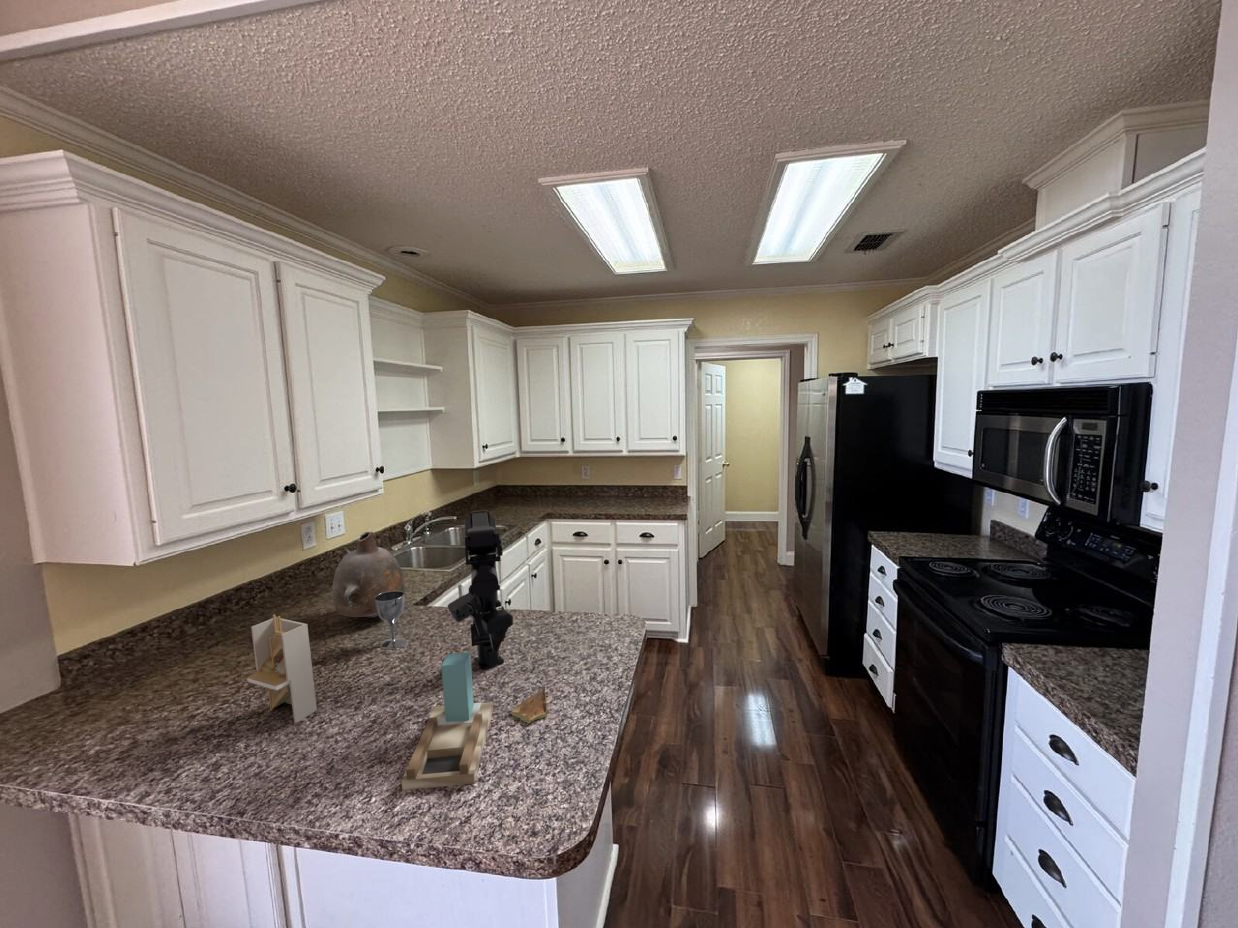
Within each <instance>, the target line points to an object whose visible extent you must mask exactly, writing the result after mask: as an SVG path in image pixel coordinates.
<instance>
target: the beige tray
mask: <svg viewBox="0 0 1238 928" xmlns="http://www.w3.org/2000/svg"><path fill="white" fill-rule="evenodd" d="M493 704H494V703H493V701H491V702H490V701H488V702H474V707H473V710H472V713H471V716H470V719H469V720H463V721H451V722H446V719H445V705H440V706H434V707H433V709H432V712H431V713H430V716H429V718H428V720H427V723H426V726H425V727H424V730H423V731H422V734H421V736H420V738H419V741H418V742H417V745H416V747H415V749H414V751H413V754H412V756H411V757H410V760H409V763H408V765H407V766H406V770H405V771H404V774H403V776H402V778H401V789H402V790H401V791H407V790H409V791H410V790H419V789H429V788H440V787H451V786H460V785H468V784H469V785H470V784H475V782H476V778H477V774H478V770H479V766H480V763H481V758H482V755H483V751H484V746H485V743H486V738H487V736H488V731H489V728H490V724H491V719H492V716H493V711H494V705H493Z"/></svg>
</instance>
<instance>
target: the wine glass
mask: <svg viewBox="0 0 1238 928" xmlns="http://www.w3.org/2000/svg"><path fill="white" fill-rule="evenodd" d="M375 607H376V611H377V614H378V616H377V617H378V618H380V619H381V620H382V621H384V622H385V623H387V625H388V626H389V630H390V636H391V638H389V639H387V640H384V641H383V642H382V643H381V644H380V648H381V649H382V650H394V649H398V648H401V647H403V646H404V645H405V644H406V643H407V639H406V638H404V637H395V625H396V622H397V621H398V620H399V618H400V617H401V615H402V614H403V612H404V609H405V597H404V592H402V591H398V590H395V591H387V592H383V593H380V594H378V595H377V596H375Z"/></svg>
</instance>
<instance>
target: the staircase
mask: <svg viewBox="0 0 1238 928" xmlns="http://www.w3.org/2000/svg"><path fill="white" fill-rule="evenodd" d="M250 629H251V638H252V644H253V652H254V660H255V669H256V672H255V673H254V674H251V675H249V676H247V677H246V681H247V682H248V683H251V684H255V685H258V686H261V687H264V688H267V689H268V690H267V692H268V699H269V700H268V701H269V709H270V712H271V711H273V710H274V709H275V708H276V707H278V706H280V705H282V704H284V703H286V704H290V705H291V707H292V714H293V715H292V716H293V723H294V724H297V723H299V722H301V721H302V720H304V719H305V718H307V717H308V716H310V715H311V714H313V713H315V712H317V710H318V707H317V701H316V698H317V697H316V690H315V682H314V673H313V672H314V671H313V665H312V656H311V654H312V653H311V645H310V638H309V636H310V635H309V629H308V623H304V622H300V621H294V620H289V619H285V618H281V615H278V616H276V614H272V617H271V618H270V619H268V620H265V621H263V622H260V623H257V624H255V625H252V626H250ZM276 668H277V669H278V671H277V669H276Z"/></svg>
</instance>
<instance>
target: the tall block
mask: <svg viewBox="0 0 1238 928" xmlns="http://www.w3.org/2000/svg"><path fill="white" fill-rule="evenodd" d="M472 673H473V672H472V659H471V652H470V651H468V652H455V653H447V654H446V655H445V658H444V660H443V661H442V664H441V677H442V691H443V703H444V705H443V706H445V719H446V722H451V721H463V720H469V719H470V716H471V713H472V710H473V707H474V703H475V702H474V687H473V674H472Z"/></svg>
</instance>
